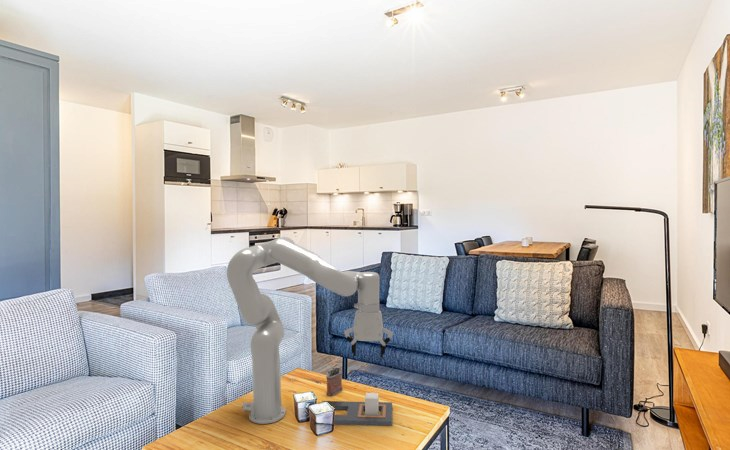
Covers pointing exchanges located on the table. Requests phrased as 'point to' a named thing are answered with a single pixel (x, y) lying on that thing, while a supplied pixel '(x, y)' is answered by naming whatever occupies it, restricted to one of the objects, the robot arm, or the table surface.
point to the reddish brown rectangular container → (334, 381)
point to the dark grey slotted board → (361, 414)
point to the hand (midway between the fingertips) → (368, 355)
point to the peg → (372, 404)
